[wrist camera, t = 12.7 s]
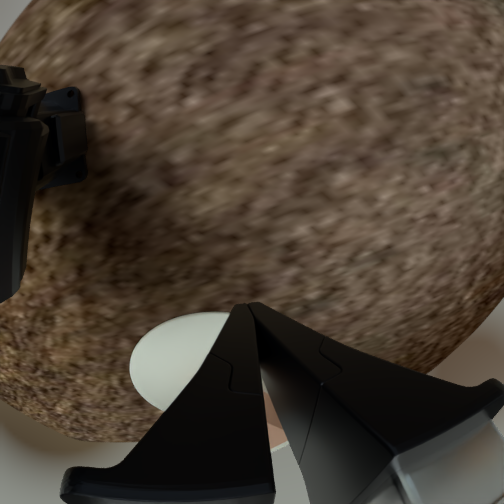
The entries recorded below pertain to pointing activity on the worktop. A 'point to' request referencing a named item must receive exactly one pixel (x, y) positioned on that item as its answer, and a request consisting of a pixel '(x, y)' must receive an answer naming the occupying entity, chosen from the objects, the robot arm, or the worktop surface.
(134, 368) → the cream mat
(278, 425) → the pink white tall block
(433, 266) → the worktop surface
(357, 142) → the worktop surface
